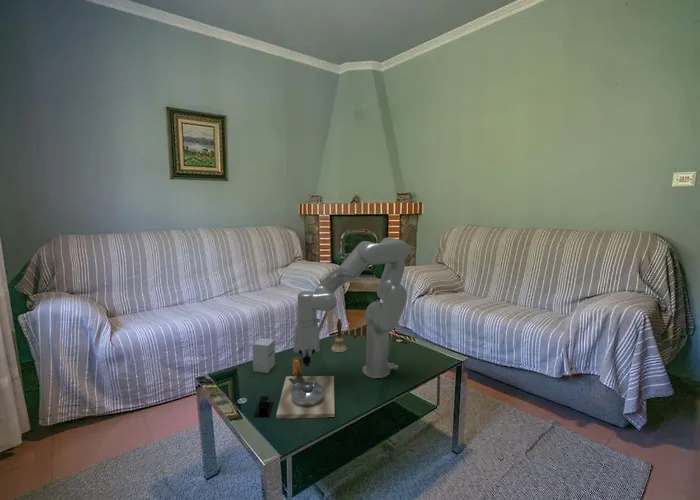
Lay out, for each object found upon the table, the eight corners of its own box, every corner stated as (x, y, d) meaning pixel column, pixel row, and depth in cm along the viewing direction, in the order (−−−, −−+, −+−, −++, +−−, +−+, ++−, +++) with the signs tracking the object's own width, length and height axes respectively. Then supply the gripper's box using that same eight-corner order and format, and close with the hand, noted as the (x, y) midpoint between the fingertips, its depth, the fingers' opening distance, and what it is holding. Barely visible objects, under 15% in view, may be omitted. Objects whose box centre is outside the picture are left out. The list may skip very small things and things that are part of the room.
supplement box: (268, 373, 148) (267, 345, 147) (252, 371, 150) (251, 344, 148) (275, 365, 155) (275, 339, 154) (260, 363, 157) (259, 337, 155)
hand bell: (346, 353, 170) (347, 322, 168) (330, 352, 170) (330, 321, 168) (347, 346, 178) (348, 316, 176) (331, 345, 179) (331, 316, 176)
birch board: (333, 379, 145) (333, 375, 144) (334, 417, 119) (334, 413, 119) (286, 379, 143) (286, 375, 143) (276, 418, 118) (276, 414, 117)
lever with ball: (328, 402, 125) (328, 379, 124) (296, 409, 120) (296, 386, 119) (309, 374, 145) (309, 355, 143) (281, 380, 140) (281, 359, 138)
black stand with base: (271, 421, 117) (271, 408, 116) (249, 421, 117) (249, 409, 116) (276, 400, 129) (276, 389, 129) (257, 400, 129) (257, 389, 128)
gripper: (324, 318, 143) (323, 359, 146) (288, 319, 140) (288, 361, 143) (326, 324, 136) (325, 368, 138) (288, 326, 133) (288, 370, 136)
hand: (306, 364), depth 141 cm, fingers closed
